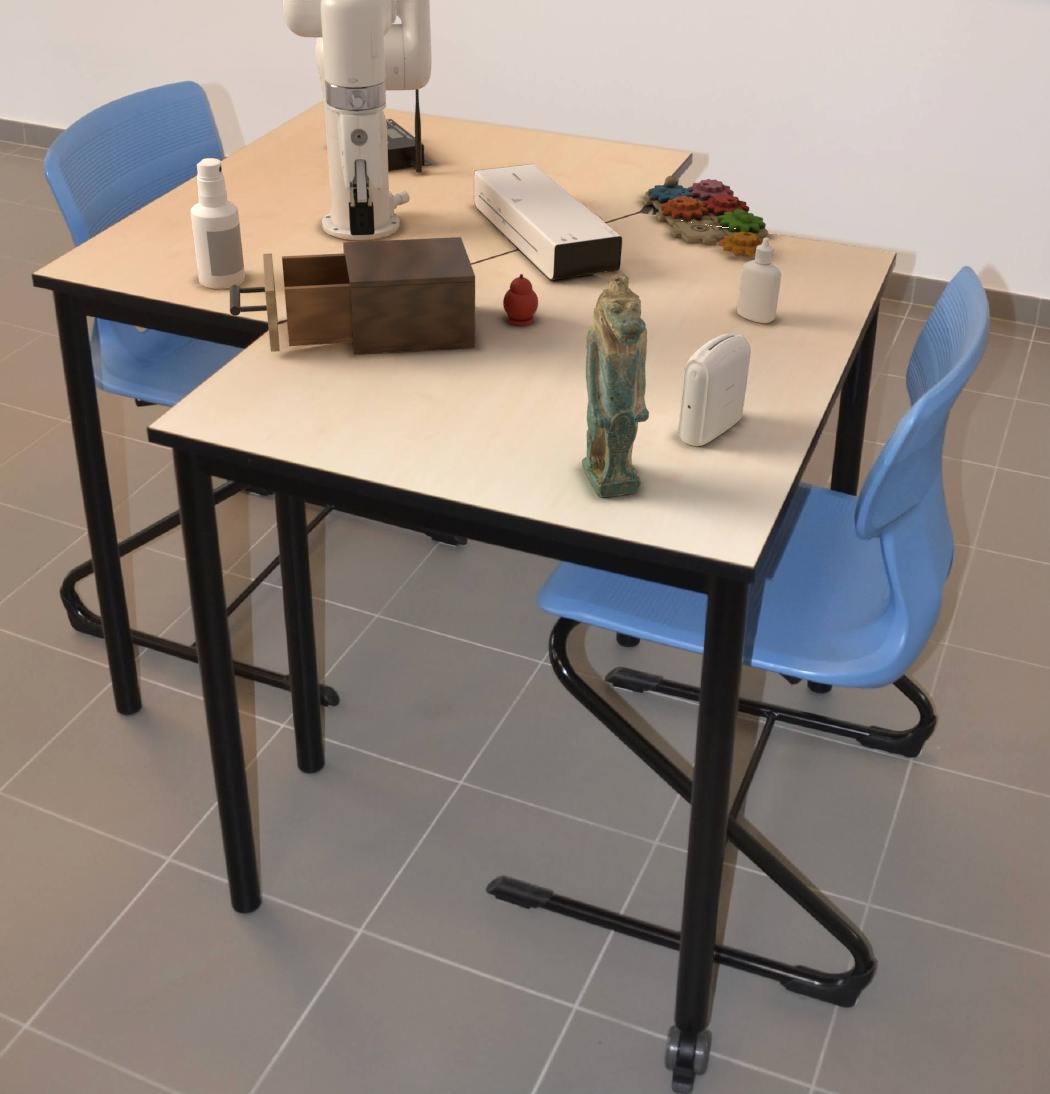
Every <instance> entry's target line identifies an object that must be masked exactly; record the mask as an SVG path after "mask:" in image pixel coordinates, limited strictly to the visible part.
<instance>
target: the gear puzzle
mask: <svg viewBox="0 0 1050 1094" xmlns="http://www.w3.org/2000/svg"><path fill="white" fill-rule="evenodd" d="M647 190H648V191H646V192H645V193H644V195H645V196H643V197H642V202H643V204H644V205H645V206H653V207H654V208H655V209H656V210H658V211H657V212H655V218H656V219H657V220H658V221H659V222H663V221H666V222H667V223H668V224H669V225H670V226H672V228H671V229H670V234H671V235H672V236H673V237H674V238H679V237H680V238H682V239H683V241H685V243H703V245H716V244H717V242H718V246H719V247H721V248H722V251H723V252H730V253H731V252H732V254H733V255H734V256H740V255H745V256H748V257H753V256H755V254H756V247H757V246H759V245H761V244H762V242H763V239H764V238H767V237H768V235H769V231H768V230H767V228H766V227H767V223H766V222H765V221H764V217H762V216H759V215H755V214H754V213H752V212H750V206H748V205H747V201H743V200H740V199H739V196H734V190H732V189H731V186H730V185H726V184H724V183H723V181H721V180H717V179H711V178H707V179H701V180H700V181H698V182H693V183H692V185H691V186H689V187H684V186H683V185H681V184H677V178H676V177H675V176H673V175H668V176H666V177H665V179H664V185H663V184H655V185H654V187H652V188H649V189H647ZM681 220H683V221H681ZM691 222H692V223H691ZM705 224H707V225H705ZM708 225H709V226H708ZM710 225H712V226H710ZM716 226H722V227H729V228H722V227H716ZM734 228H736V229H734Z"/></svg>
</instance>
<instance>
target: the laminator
mask: <svg viewBox="0 0 1050 1094" xmlns="http://www.w3.org/2000/svg"><path fill="white" fill-rule="evenodd" d="M473 202H474V207H475V208H476V210H477V211H478V212H479V213H480V214H481V215H482V216H483V217H484V218H485V219H486V220H488V222H490V223H491V225H493V227H495V229H497V230H498V231H499V232H500V233H501V234H502V235H503V236H504V237H505V238H506V239H507V240H508V242H510V243H511V244H512V245H513V246H514V247H515V248H516V249H517V250H518V251H519V252H520V253H521V254H522V255H523V256H524V257H525V258H526V259H527V260H528V261H529V262H531V264H532V265H533V266H535V268H537V270H538V271H540V272H541V273H542V274H543V276H545V277H546V278H547V280H549V281H551V282H552V281H554V280H559V279H567V278H574V277H575V278H576V277H582V276H587V275H588V276H589V275H594V274H601V273H607V272H618V271H620V269H621V264H622V251H623V236H622V235H620V233H618V232H617V231H616V230H614V229H613V228H612V227H611V226H610V225H608V224H607V223H606V222H604V221H603V219H601V218H600V217H599V216H598V215H596V213H594V212H593V211H592V210H590V209H589V208H588V207H587V206H586V205H584V204H583V203H582V202H581V201H579V200H578V199H577V198H576V197H575V196H573V195H572V194H571V193H570V192H569V191H568V190H566V189H565V188H564V187H563V186H562V185H560V184H559V183H558V182H556V180H554V179H553V178H552V177H551V176H549V175H548V174H547V173H546V172H544V171H543V170H542V169H541V168H540V167H539V166H537V165H536V164H535V163H527V164H519V165H511V166H501V167H493V168H485V169H483V168H482V169H476V170H474V172H473Z"/></svg>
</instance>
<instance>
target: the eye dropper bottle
mask: <svg viewBox="0 0 1050 1094" xmlns="http://www.w3.org/2000/svg"><path fill="white" fill-rule="evenodd" d="M762 239H763V242H762V244H761V245H759V246H757V247H756V254H754V259H752V260H748V261H747V262H745V263H744V264H743V266H742V269H741V274H740V275H741V276H740V283H739V288H738V290H739V291H738V297H737V298H738V299H737V306H736V313H737V315H739V316H740V317H742V318H743V319H745V320H748V321H750V322H754V323H758V324H769V323H771V322H773V321H775V319H776V316H777V310H778V309H777V308H778V303H779V297H780V296H779V295H780V290H781V289H780V288H781V281H782V271H781V270H780V268H779V267H778V266H777V265H775V264H774V263H773V257H774V249H775V248H774V247H773V246H772V245H770V238H769V237H763V238H762Z"/></svg>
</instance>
